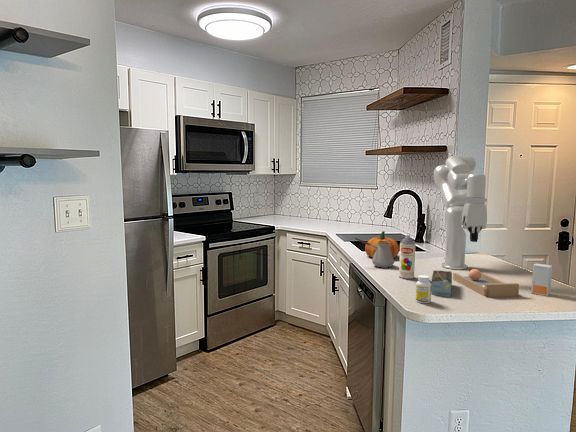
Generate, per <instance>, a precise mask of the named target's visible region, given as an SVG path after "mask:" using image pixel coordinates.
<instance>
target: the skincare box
mask: <svg viewBox="0 0 576 432" xmlns="http://www.w3.org/2000/svg"><path fill="white" fill-rule="evenodd" d="M552 276H553V265H550V264H545V263H542V264H541V263H533V266H532V279H531V290H530V293H531V294H534V295H539V296H543V295H545V296H544V297H549V296H550V295H551V290H552V280H553V279H552ZM549 294H550V295H549Z"/></svg>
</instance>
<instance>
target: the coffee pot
mask: <svg viewBox="0 0 576 432" xmlns="http://www.w3.org/2000/svg"><path fill="white" fill-rule="evenodd" d="M355 240H356V241H357V242H360V243H362V244H365V245H366V244H367V245H370V246H373V247H375V248H377V250H376V252H375V255H374V257H372V259H371V262H372V264H373V265H374V266H375V267H376V266H377V268H379V267H381V268H382V269H389V268H391V267H392V266H393V265H394V264H395V260H394V258H393V256H392V254H391V251H390V249H389V243H390V242H387V241H378V242H377V243H378V245H379V246H378V247H377V246H374V245H372V244H370V243H368V241H365V240H363V239H360V238H357V237H354V238H353V242H355ZM388 267H389V268H388ZM381 268H380V269H381Z"/></svg>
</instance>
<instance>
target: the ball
mask: <svg viewBox="0 0 576 432" xmlns="http://www.w3.org/2000/svg"><path fill="white" fill-rule="evenodd" d="M481 273H482V272H481V271H480V270H479V269H476V268H472V269H471V270H470V271H469V273H468V277H470V278H471V279H472V280H479V279H480V278H481Z"/></svg>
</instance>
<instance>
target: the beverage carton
mask: <svg viewBox="0 0 576 432" xmlns="http://www.w3.org/2000/svg"><path fill="white" fill-rule="evenodd" d="M432 272H433V273H432V274H431V275H432V276H431V281H430V283H431V296H441V297H452V289H453V288H452V285H453V273H452V271H450V270H449V271H447V270H436V269H435V270H433V271H432Z"/></svg>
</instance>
